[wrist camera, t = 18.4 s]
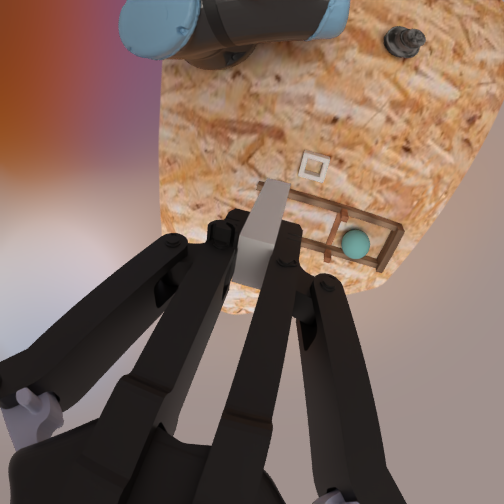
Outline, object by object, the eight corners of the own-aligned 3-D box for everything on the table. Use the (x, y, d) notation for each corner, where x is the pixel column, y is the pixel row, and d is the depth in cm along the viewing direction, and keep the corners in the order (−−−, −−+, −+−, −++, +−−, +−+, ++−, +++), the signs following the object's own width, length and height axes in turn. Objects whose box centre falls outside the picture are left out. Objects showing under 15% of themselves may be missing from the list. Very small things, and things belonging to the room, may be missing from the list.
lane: (250, 227, 60) (244, 240, 56) (259, 181, 53) (254, 190, 49) (380, 264, 58) (383, 278, 54) (401, 224, 51) (406, 236, 47)
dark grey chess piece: (417, 56, 30) (445, 52, 21) (390, 61, 33) (412, 58, 24) (404, 27, 28) (428, 15, 18) (376, 32, 30) (393, 20, 21)
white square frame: (298, 172, 50) (298, 176, 49) (304, 149, 47) (304, 152, 46) (322, 179, 50) (323, 183, 48) (329, 156, 47) (330, 159, 45)
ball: (363, 253, 57) (337, 254, 57) (365, 226, 55) (338, 227, 55) (372, 262, 51) (344, 263, 51) (375, 233, 49) (346, 233, 50)
